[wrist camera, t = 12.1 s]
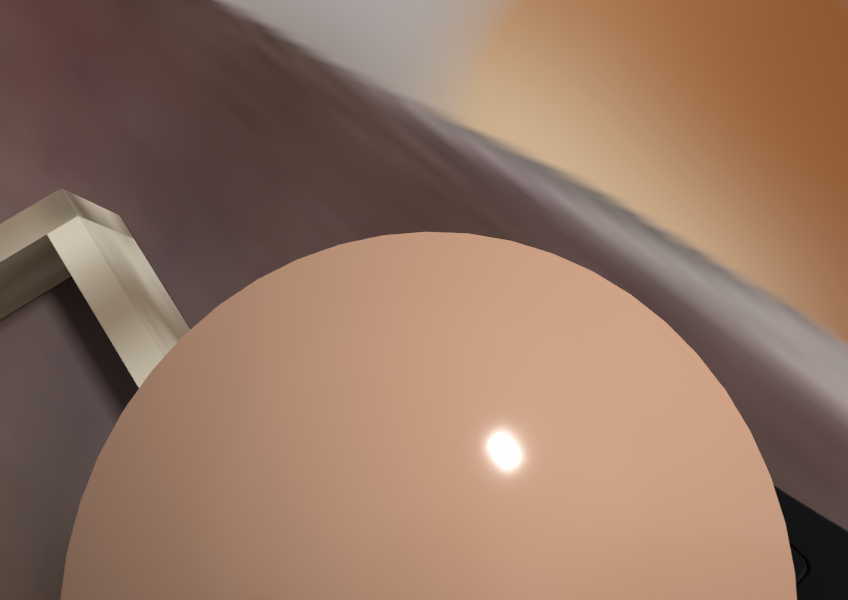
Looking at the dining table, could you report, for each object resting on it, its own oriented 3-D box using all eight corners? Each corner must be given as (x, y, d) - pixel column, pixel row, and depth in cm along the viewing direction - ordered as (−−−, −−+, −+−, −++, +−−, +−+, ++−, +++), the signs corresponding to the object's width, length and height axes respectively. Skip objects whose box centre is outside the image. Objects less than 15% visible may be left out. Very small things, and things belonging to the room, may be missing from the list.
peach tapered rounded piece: (525, 493, 16) (889, 935, 4) (339, 527, 15) (81, 1129, 3) (491, 310, 16) (699, 188, 5) (315, 338, 16) (40, 286, 4)
